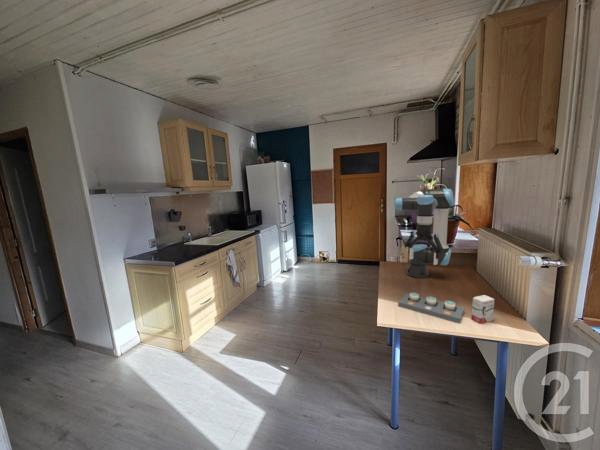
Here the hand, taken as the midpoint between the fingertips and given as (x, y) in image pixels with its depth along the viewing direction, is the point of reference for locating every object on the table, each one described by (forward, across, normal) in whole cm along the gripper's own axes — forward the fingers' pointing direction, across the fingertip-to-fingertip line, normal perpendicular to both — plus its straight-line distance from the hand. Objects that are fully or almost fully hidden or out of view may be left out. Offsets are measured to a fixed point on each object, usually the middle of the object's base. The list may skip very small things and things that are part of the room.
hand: (422, 261), depth 134 cm
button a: (+24, -5, 0) cm, 25 cm away
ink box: (+27, +26, +9) cm, 39 cm away
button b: (+24, +4, +3) cm, 25 cm away
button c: (+24, +13, +5) cm, 28 cm away
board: (+26, +5, +1) cm, 27 cm away
